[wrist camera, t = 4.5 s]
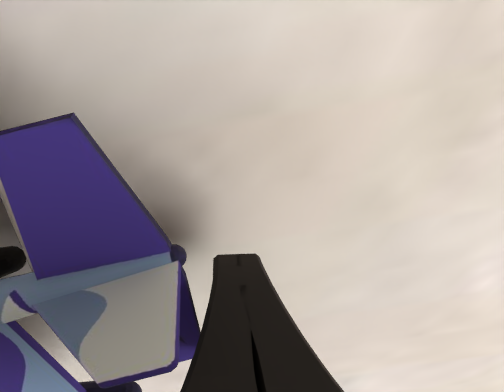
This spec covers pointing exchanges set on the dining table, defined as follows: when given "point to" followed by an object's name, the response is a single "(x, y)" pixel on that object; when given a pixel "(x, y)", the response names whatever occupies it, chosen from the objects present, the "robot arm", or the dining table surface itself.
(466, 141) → the dining table surface
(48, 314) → the toy airplane
